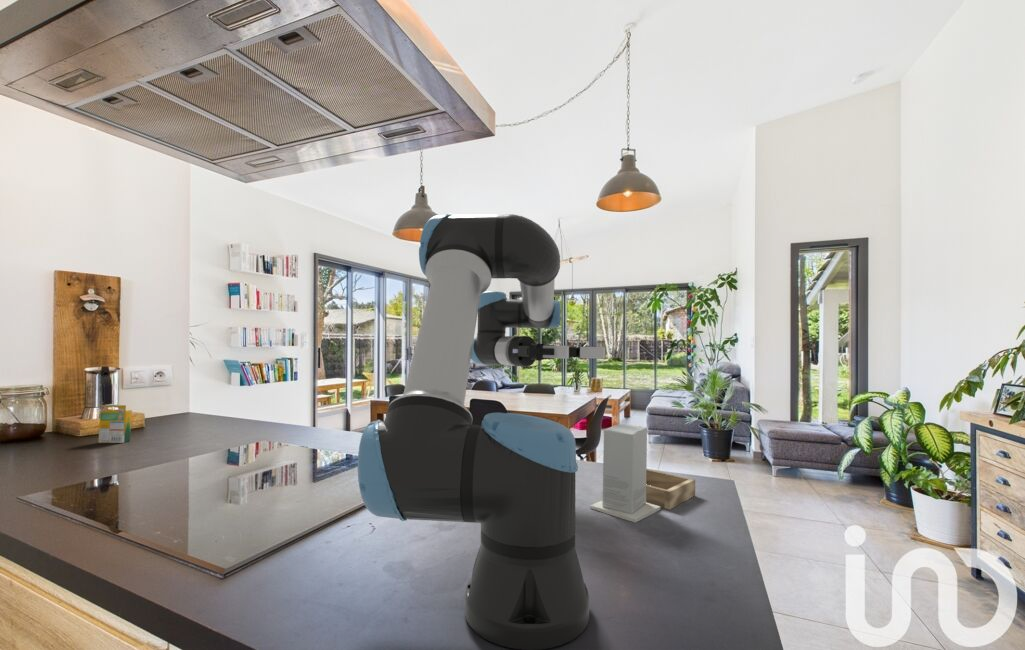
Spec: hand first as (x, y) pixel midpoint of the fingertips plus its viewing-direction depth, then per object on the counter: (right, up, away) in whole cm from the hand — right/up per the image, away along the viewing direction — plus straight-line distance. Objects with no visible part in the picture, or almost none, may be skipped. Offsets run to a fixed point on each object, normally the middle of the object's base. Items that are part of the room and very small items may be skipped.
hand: (587, 352), depth 99 cm
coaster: (+6, -31, -8) cm, 33 cm away
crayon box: (-140, -31, +42) cm, 150 cm away
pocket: (+15, -31, +1) cm, 35 cm away
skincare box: (+6, -30, -8) cm, 32 cm away
